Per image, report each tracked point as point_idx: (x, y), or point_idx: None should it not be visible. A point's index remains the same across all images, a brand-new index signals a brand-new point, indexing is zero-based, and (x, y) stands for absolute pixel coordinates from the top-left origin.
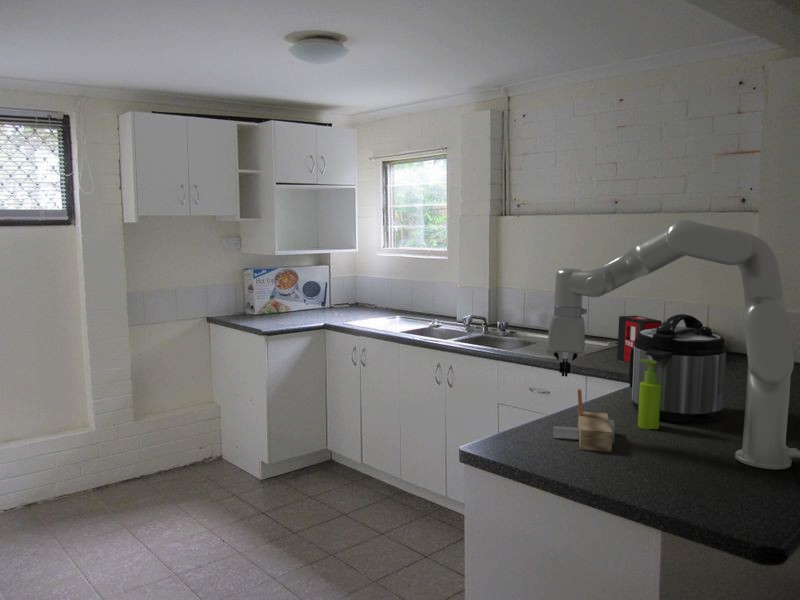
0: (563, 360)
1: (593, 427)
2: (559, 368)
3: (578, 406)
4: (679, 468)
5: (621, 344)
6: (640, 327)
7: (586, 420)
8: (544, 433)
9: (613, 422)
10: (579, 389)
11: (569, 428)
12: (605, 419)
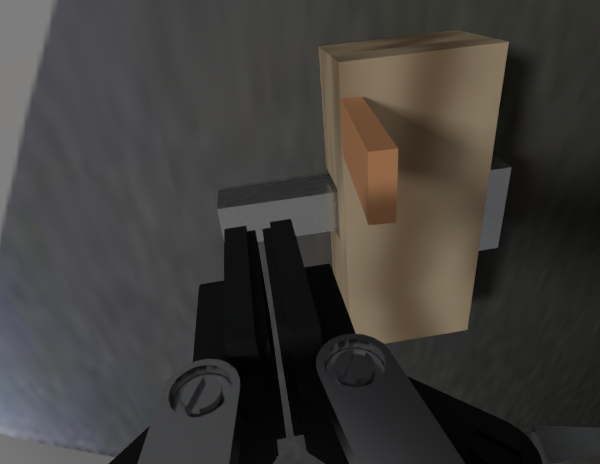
0: (263, 459)
1: (402, 306)
2: (200, 313)
3: (346, 121)
4: (593, 329)
5: None
6: None
7: (378, 226)
8: (173, 172)
9: (501, 209)
10: (383, 171)
11: (293, 217)
12: (473, 174)
